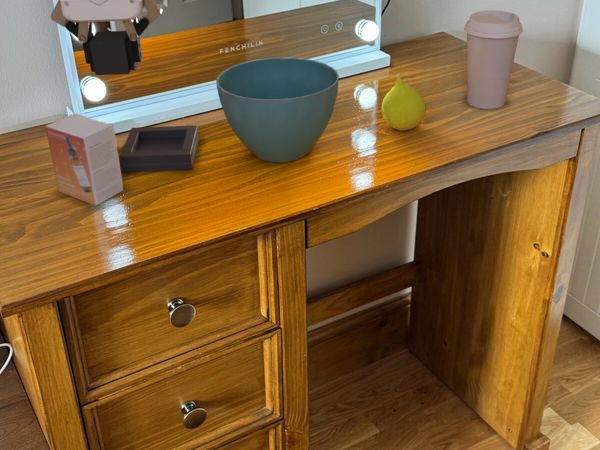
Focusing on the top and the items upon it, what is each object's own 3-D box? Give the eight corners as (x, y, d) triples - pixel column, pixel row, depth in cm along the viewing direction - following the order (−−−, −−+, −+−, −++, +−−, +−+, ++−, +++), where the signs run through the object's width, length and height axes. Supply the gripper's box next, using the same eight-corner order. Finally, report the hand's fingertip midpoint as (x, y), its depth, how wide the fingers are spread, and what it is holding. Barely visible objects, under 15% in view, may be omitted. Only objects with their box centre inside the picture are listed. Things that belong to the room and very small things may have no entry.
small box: (57, 192, 111) (43, 125, 105) (87, 177, 114) (74, 111, 109) (95, 207, 107) (82, 138, 101) (125, 190, 110) (113, 123, 105)
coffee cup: (519, 111, 130) (530, 24, 123) (463, 113, 131) (470, 26, 123) (507, 91, 139) (516, 8, 131) (454, 92, 139) (460, 9, 131)
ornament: (390, 117, 130) (392, 60, 125) (430, 123, 127) (434, 66, 122) (374, 133, 125) (375, 74, 120) (415, 140, 122) (418, 80, 117)
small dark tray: (192, 170, 115) (190, 153, 114) (122, 172, 115) (119, 156, 114) (199, 140, 125) (197, 125, 123) (134, 142, 125) (131, 127, 123)
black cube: (129, 74, 101) (124, 41, 99) (95, 75, 101) (89, 42, 99) (135, 62, 105) (130, 30, 103) (102, 63, 105) (96, 31, 103)
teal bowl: (214, 135, 126) (207, 64, 120) (321, 121, 130) (319, 51, 123) (234, 185, 111) (227, 106, 104) (354, 167, 114) (354, 90, 108)
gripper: (13, -67, 90) (45, 80, 100) (156, -72, 90) (174, 75, 100) (31, -78, 97) (60, 60, 106) (164, -84, 97) (181, 56, 106)
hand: (115, 66), depth 103 cm, fingers closed on black cube, 4 cm apart
